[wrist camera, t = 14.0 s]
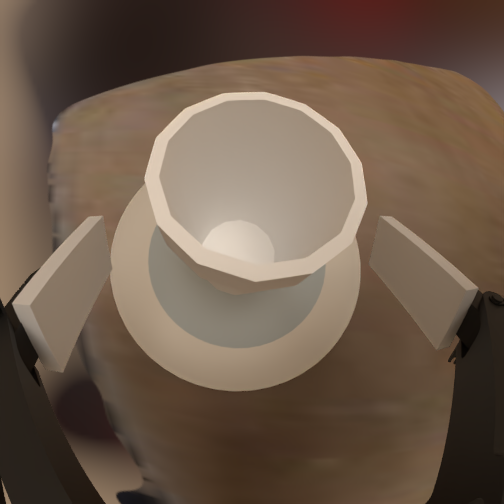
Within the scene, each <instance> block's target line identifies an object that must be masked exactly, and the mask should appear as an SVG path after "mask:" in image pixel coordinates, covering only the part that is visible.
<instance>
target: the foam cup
mask: <svg viewBox="0 0 504 504" xmlns="http://www.w3.org/2000/svg"><path fill="white" fill-rule="evenodd" d="M144 179H145V183H146V187H147V191H148V194H149V198H150V202H151V205H152V209H153V212H154V216H155V219H156V222H157V225H158V227H159V230H160V232H161V234H162V236H163V238H164V240H165V242H166V244H167V246H168V247H169V248H170V249H171V250H172V251H173V252H174V253H175V254H176V255H177V256H178V257H179V258H180V259H182V260H183V261H184V262H185V263H186V264H187V265H188V266H189V267H190V268H191V269H192V270H193V271H194V272H195V273H196V274H197V275H198V276H199V277H200V278H202V279H206V280H208V281H209V282H210V283H211V284H212V285H213V286H214V287H215V288H216V289H217V290H220V291H223V292H226V293H229V294H232V295H241V294H248V293H254V292H258V291H265V290H271V289H278V288H284V287H290V286H296V285H297V284H299V283H300V282H302V281H303V280H304V279H306V278H307V277H308V276H310V275H311V274H312V273H314V272H315V271H316V270H318V269H319V268H320V267H322V266H323V265H324V264H326V263H327V262H328V261H330V260H331V259H332V258H334V257H335V256H336V255H338V254H339V253H340V252H341V251H343V250H344V249H345V248H347V247H348V246H349V245H350V244H352V242H353V240H354V237H355V235H356V232H357V230H358V227H359V224H360V222H361V219H362V217H363V214H364V211H365V209H366V206H367V196H366V189H365V182H364V175H363V169H362V163H361V162H360V160H359V158H358V157H357V155H356V154H355V152H354V150H353V149H352V147H351V146H350V144H349V143H348V141H347V140H346V138H345V137H344V135H343V134H342V132H341V131H340V129H339V128H337V127H336V126H335V125H333V124H332V123H331V122H329V121H328V120H327V119H325V118H324V117H322V116H321V115H320V114H318V113H317V112H315V111H314V110H313V109H311V108H310V107H308V106H307V105H305V104H302V103H299V102H296V101H293V100H290V99H287V98H284V97H280V96H277V95H273V94H270V93H266V92H243V93H223V94H220V95H217V96H215V97H212V98H210V99H207V100H205V101H202V102H200V103H197V104H195V105H192V106H190V107H188V108H185V109H184V110H183V111H182V112H181V113H180V114H179V115H178V116H177V117H176V118H175V119H174V120H173V121H172V122H171V123H170V124H169V125H168V126H167V127H166V128H165V129H164V130H163V131H162V132H161V133H160V134H159V135H158V136H157V138H156V140H155V143H154V146H153V150H152V153H151V156H150V160H149V163H148V167H147V171H146V174H145V178H144Z"/></svg>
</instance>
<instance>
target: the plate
mask: <svg viewBox="0 0 504 504" xmlns="http://www.w3.org/2000/svg"><path fill="white" fill-rule="evenodd" d="M110 259H111V264H112V271H111V272H110V277H111V285H112V291H113V296H114V299H115V303H116V306H117V309H118V312H119V314H120V316H121V318H122V320H123V322H124V324H125V326H126V328H127V330H128V331H129V333H130V334H131V336H132V337H133V339H134V340H135V341H136V343H137V344H138V345H139V346H140V347H141V348H142V350H143V351H144V352H145V353H146V354H147V355H148V356H149V357H150V358H151V359H153V360H154V361H155V362H156V363H158V364H159V365H160V366H161V367H163V368H164V369H166V370H167V371H169V372H171V373H172V374H174V375H176V376H177V377H179V378H181V379H184V380H186V381H189V382H191V383H193V384H196V385H199V386H203V387H207V388H211V389H216V390H225V391H252V390H258V389H263V388H268V387H272V386H275V385H278V384H281V383H284V382H287V381H289V380H291V379H293V378H295V377H297V376H299V375H301V374H302V373H304V372H305V371H307V370H308V369H310V368H311V367H313V366H314V365H315V364H317V363H318V362H319V361H320V360H321V359H322V358H323V357H324V356H325V355H326V354H327V353H329V352H330V350H331V349H332V348H333V347H334V345H335V344H336V343H337V342H338V340H339V339H340V337H341V336H342V334H343V332H344V331H345V329H346V327H347V326H348V324H349V321H350V319H351V317H352V314H353V312H354V309H355V306H356V302H357V298H358V294H359V287H360V279H361V274H360V256H359V249H358V245H357V241H356V237H354V240H353V242H352V244H350V245H349V246H348V247H347V248H345V249H344V250H343V251H341V252H340V253H339V254H338V255H336V256H335V257H334V258H332V259H331V260H330V261H328V262H327V263H326V264H324V265H323V266H322V267H320V268H319V269H318V270H316V271H315V272H314V273H312V274H311V275H310V276H308V277H307V278H306V279H304V280H303V281H302V282H300V283H299V284H297V285H296V286H290V287H284V288H278V289H271V290H265V291H258V292H254V293H248V294H241V295H232V294H229V293H226V292H223V291H220V290H217V289H216V288H215V287H214V286H213V285H212V284H211V283H210V282H209V281H208V280H206V279H202V278H200V277H199V276H198V275H197V274H196V273H195V272H194V271H193V270H192V269H191V268H190V267H189V266H188V265H187V264H186V263H185V262H184V261H183V260H182V259H180V258H179V257H178V256H177V255H176V254H175V253H174V252H173V251H172V250H171V249H170V248H169V247H168V246H167V244H166V242H165V240H164V238H163V236H162V234H161V232H160V230H159V227H158V225H157V222H156V219H155V216H154V212H153V209H152V205H151V202H150V198H149V194H148V191H147V187H146V183H145V184H144V185H143V186H142V187H141V189H140V190H139V191H138V192H137V193H136V194H135V196H134V197H133V198H132V200H131V201H130V203H129V204H128V206H127V208H126V209H125V211H124V213H123V215H122V217H121V219H120V221H119V224H118V227H117V229H116V232H115V236H114V240H113V244H112V249H111V258H110Z"/></svg>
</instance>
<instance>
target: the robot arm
mask: <svg viewBox="0 0 504 504" xmlns="http://www.w3.org/2000/svg"><path fill="white" fill-rule="evenodd" d="M369 266H370V267H371V268H372V269H373V270H374V271H375V273H376V274H377V275H378V276H379V277H380V279H381V280H382V281H383V282H384V283H385V285H386V286H387V287H388V288H389V289H390V291H391V292H392V293H393V294H394V296H395V297H396V298H397V299H398V301H399V302H400V303H401V304H402V306H403V307H404V308H405V309H406V311H407V312H408V313H409V314H410V316H411V317H412V318H413V320H414V321H415V322H416V324H417V325H418V326H419V327H420V329H421V330H422V331H423V333H424V334H425V335H426V337H427V338H428V340H429V341H430V342H431V344H432V345H433V346H434V348H435V349H436V350H440V349H443V348H447V347H449V346H450V345H451V343H452V341H453V339H454V337H455V336H456V335H457V336H458V337H459V338H460V341H459V343H458V344H457V346H456V348H455V349H454V351H453V353H452V354H451V356H450V358H449V360H448V362H451V360H452V359H453V358H454V357H456V360H455V361H454V364H456V366H455V380H454V391H453V400H452V408H451V415H450V422H449V428H448V433H447V439H446V444H445V448H444V453H443V457H442V462H441V466H440V469H439V473H438V477H437V480H436V484H435V487H434V490H433V493H432V495H431V497H430V499H429V500H428V501H427V503H426V504H504V298H502V297H501V296H500V295H498V294H496V293H494V292H490V291H488V292H485V293H484V294H482V293H481V292H480V291H479V290H478V289H479V288H478V287H477V286H476V285H475V284H473V283H472V282H471V281H470V280H469V279H468V278H467V277H466V276H465V275H464V274H462V273H461V272H460V271H459V270H458V269H457V268H456V267H454V266H453V265H452V264H451V263H450V262H449V261H447V260H446V259H445V258H444V257H443V256H442V255H440V254H439V253H438V252H437V251H435V250H434V249H433V248H432V247H431V246H429V245H428V244H427V243H426V242H424V241H423V240H422V239H421V238H419V237H418V236H417V235H415V234H414V233H413V232H412V231H410V230H409V229H408V228H406V227H405V226H404V225H402V224H401V223H400V222H398V221H397V220H396V219H394V218H393V217H392V216H379V221H378V225H377V230H376V235H375V239H374V243H373V248H372V252H371V256H370V260H369ZM111 271H112V264H111V259H110V254H109V248H108V243H107V237H106V231H105V225H104V218H103V216H92V217H88V218H87V219H86V220H85V221H84V222H83V223H82V224H81V225H80V226H79V227H78V228H77V229H76V230H75V231H74V232H73V233H72V234H71V235H70V236H69V237H68V238H67V239H66V240H65V241H64V242H63V243H62V245H61V246H60V247H59V248H58V249H57V250H56V251H55V252H54V253H53V254H52V255H51V257H50V258H49V259H48V260H47V261H46V262H45V263H44V265H43V266H42V267H41V268H39V269H38V270H36V271H35V272H34V273H32V274H31V275H30V276H29V277H28V279H27V280H26V281H25V284H23V285H22V286H21V287H20V288H19V290H18V291H17V292H16V293H15V294H14V296H13V297H12V299H11V300H10V301H9V302H8V303H7V305H6V306H5V307H4V306H3V304H2V301H1V299H0V504H6V501H5V497H4V492H3V486H2V481H3V484H4V486H5V489H6V491H7V494H8V497H9V499H10V501H11V504H106V503H105V502H104V501H103V499H102V498H101V497H100V495H99V493H98V492H97V491H96V489H95V487H94V486H93V484H92V483H91V481H90V480H89V478H88V477H87V475H86V473H85V472H84V470H83V468H82V467H81V465H80V463H79V462H78V460H77V458H76V456H75V454H74V453H73V451H72V449H71V447H70V445H69V443H68V441H67V439H66V437H65V435H64V433H63V431H62V429H61V427H60V424H59V422H58V420H57V418H56V416H55V413H54V411H53V409H52V406H51V404H50V401H49V399H48V396H47V394H46V391H45V389H44V386H43V383H42V381H41V378H40V375H39V372H38V370H37V369H36V367H35V366H34V365H35V363H36V361H37V359H38V357H39V359H40V361H41V363H42V364H43V366H44V368H45V369H47V370H51V371H57V372H63V371H64V369H65V366H66V364H67V362H68V359H69V357H70V354H71V352H72V350H73V347H74V345H75V343H76V341H77V339H78V336H79V334H80V332H81V330H82V328H83V325H84V323H85V321H86V319H87V317H88V315H89V313H90V311H91V309H92V307H93V305H94V303H95V301H96V299H97V297H98V295H99V293H100V291H101V289H102V287H103V285H104V284H105V282H106V280H107V278H108V276H109V274H110V272H111ZM1 478H2V481H1Z"/></svg>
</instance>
